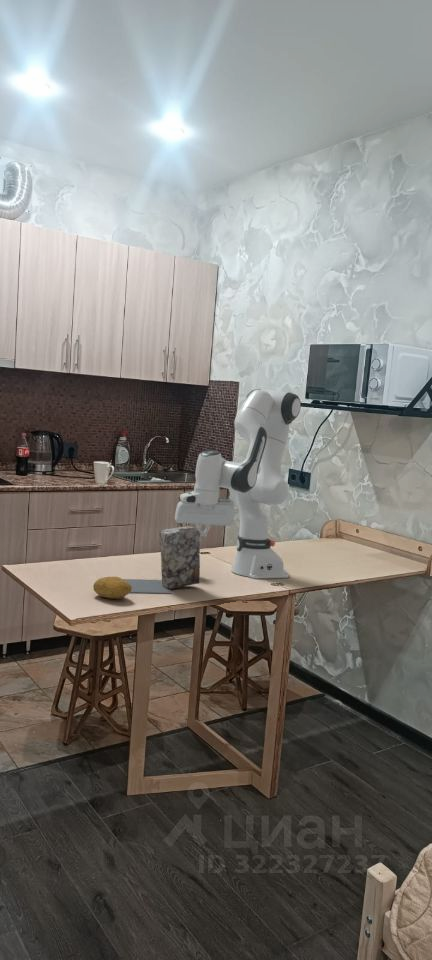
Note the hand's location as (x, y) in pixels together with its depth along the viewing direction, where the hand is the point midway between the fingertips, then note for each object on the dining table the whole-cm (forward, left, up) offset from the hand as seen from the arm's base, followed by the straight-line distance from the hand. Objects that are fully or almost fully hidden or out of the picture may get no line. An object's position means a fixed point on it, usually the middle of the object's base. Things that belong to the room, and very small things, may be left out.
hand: (202, 536), depth 247 cm
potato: (+31, +14, -19) cm, 39 cm away
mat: (+20, 0, -18) cm, 27 cm away
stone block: (+6, 0, -18) cm, 19 cm away
